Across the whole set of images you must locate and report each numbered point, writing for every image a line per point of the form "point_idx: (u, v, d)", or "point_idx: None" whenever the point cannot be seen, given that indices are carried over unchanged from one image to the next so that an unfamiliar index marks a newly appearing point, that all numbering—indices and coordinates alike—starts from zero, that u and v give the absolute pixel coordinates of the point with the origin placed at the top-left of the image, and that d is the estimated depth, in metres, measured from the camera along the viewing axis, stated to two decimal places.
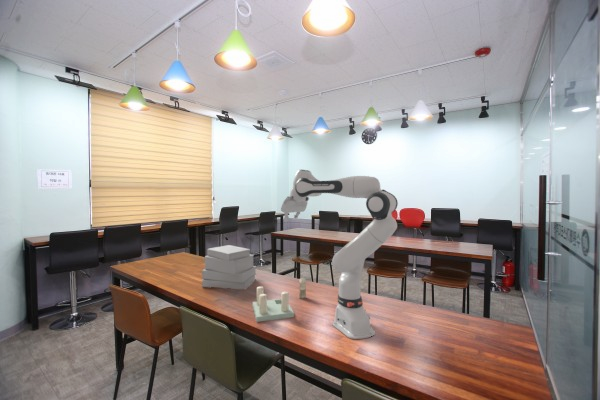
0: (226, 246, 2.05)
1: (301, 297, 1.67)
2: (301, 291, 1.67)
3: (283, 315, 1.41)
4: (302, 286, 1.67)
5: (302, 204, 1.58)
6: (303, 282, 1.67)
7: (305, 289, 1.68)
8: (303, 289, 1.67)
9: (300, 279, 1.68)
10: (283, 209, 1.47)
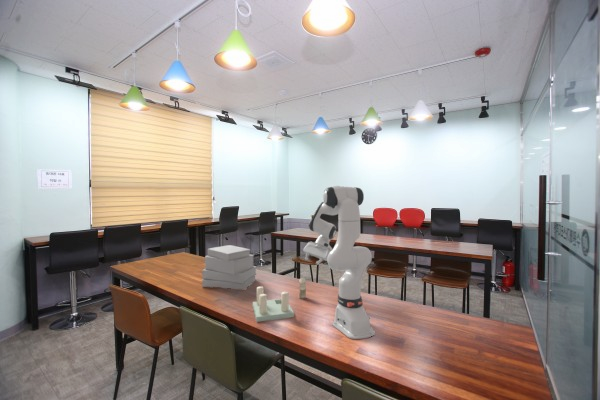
0: (226, 246, 2.06)
1: (301, 297, 1.67)
2: (301, 291, 1.67)
3: (283, 315, 1.41)
4: (302, 286, 1.67)
5: (323, 251, 1.74)
6: (303, 282, 1.67)
7: (305, 289, 1.68)
8: (303, 289, 1.67)
9: (300, 279, 1.68)
10: None
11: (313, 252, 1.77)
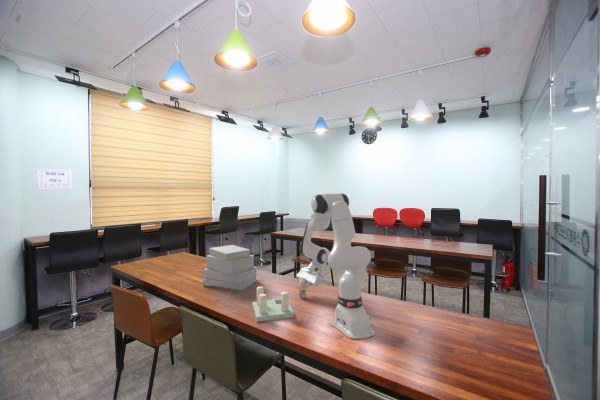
0: (229, 246, 2.06)
1: (301, 297, 1.67)
2: (301, 291, 1.67)
3: (283, 315, 1.41)
4: (302, 286, 1.67)
5: (314, 276, 1.67)
6: (303, 282, 1.67)
7: None
8: (303, 289, 1.67)
9: (300, 279, 1.68)
10: None
11: (304, 277, 1.71)
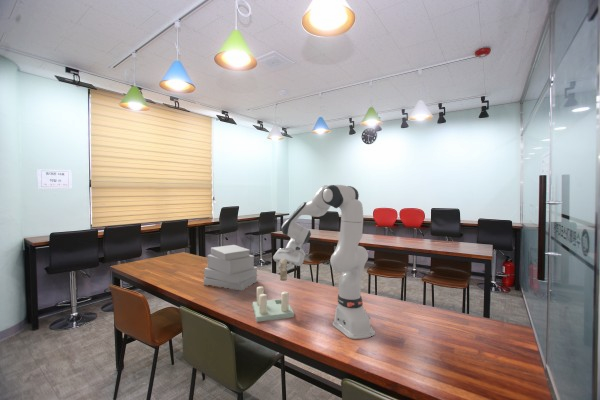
0: (230, 246, 2.07)
1: (283, 279, 1.57)
2: (283, 272, 1.57)
3: (283, 315, 1.41)
4: (284, 267, 1.57)
5: (295, 255, 1.60)
6: (285, 263, 1.57)
7: (286, 270, 1.59)
8: (285, 270, 1.58)
9: (281, 260, 1.58)
10: None
11: (284, 258, 1.61)
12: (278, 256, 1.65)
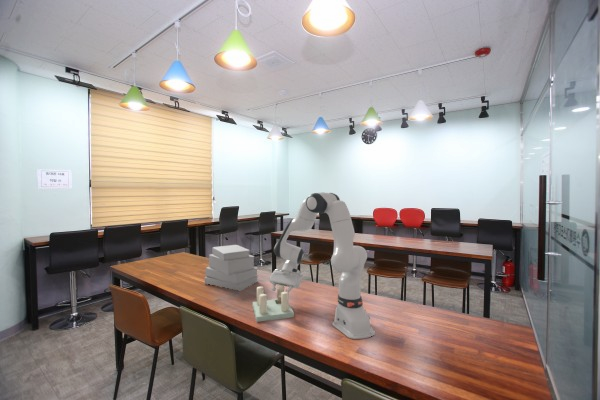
0: (232, 246, 2.07)
1: None
2: (280, 299, 1.55)
3: (283, 315, 1.41)
4: None
5: (292, 277, 1.58)
6: (282, 289, 1.55)
7: None
8: None
9: (278, 286, 1.56)
10: None
11: (281, 280, 1.59)
12: (274, 278, 1.62)
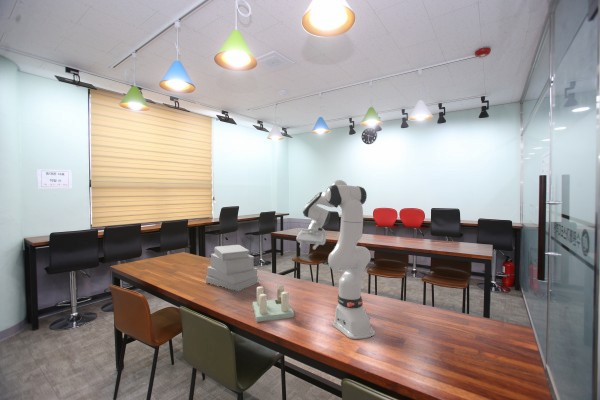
0: (234, 245, 2.08)
1: None
2: (280, 299, 1.55)
3: (283, 315, 1.41)
4: None
5: (318, 235, 1.73)
6: (282, 289, 1.55)
7: None
8: None
9: (278, 286, 1.56)
10: None
11: (308, 238, 1.74)
12: (301, 237, 1.77)
